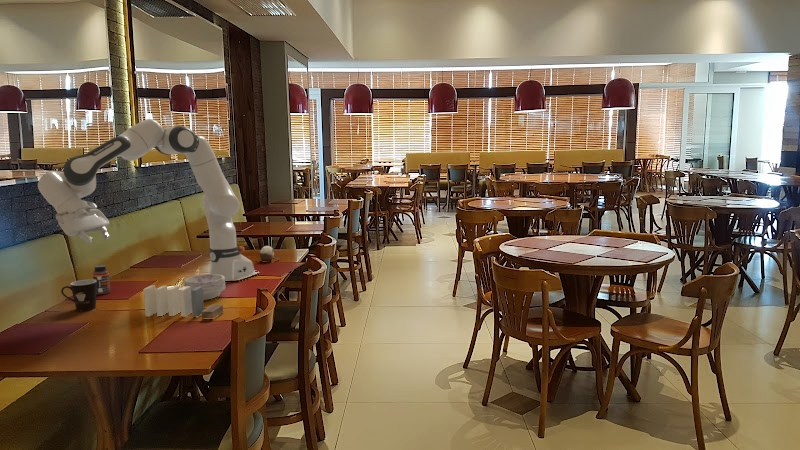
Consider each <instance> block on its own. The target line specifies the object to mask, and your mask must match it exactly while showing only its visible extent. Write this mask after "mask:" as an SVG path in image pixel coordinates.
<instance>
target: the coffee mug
mask: <svg viewBox="0 0 800 450" xmlns="http://www.w3.org/2000/svg"><path fill="white" fill-rule="evenodd" d="M96 285H97V281H96V280H93V279H80V280H75V281H72V282H70V286H67V285H66V286H63V287H62V288H61V294H62V296H63V297H64V298H66V299H68V300H70V301H71V302H74V305H75V310H76V311H78V312H86V311H88V312H89V311H92V310H94V309H96V308H97V294H96ZM66 288H67V289H69V290H70V291H71V293H72V297H73V298H71V297H70V296H67V295H66V294H65V293H64V289H66Z"/></svg>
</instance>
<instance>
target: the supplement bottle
mask: <svg viewBox="0 0 800 450" xmlns="http://www.w3.org/2000/svg"><path fill="white" fill-rule="evenodd" d="M92 280H96V281H97V285H96V295H100V296H101V295H107V294H109V293H111V283H110V282H111V281H110V280H111V279H110V273H109V271H108V270H107V267H106V264H100V265H99V264H98V265H95V266H94V271H93V272H92Z"/></svg>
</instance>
